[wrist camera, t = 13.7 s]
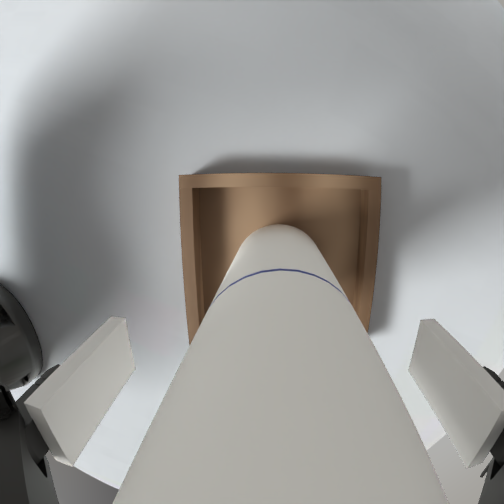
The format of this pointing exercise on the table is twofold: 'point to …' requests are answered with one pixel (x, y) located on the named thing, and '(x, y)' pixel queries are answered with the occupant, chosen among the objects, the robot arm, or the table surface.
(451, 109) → the table surface
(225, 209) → the tray
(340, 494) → the cylindrical container
